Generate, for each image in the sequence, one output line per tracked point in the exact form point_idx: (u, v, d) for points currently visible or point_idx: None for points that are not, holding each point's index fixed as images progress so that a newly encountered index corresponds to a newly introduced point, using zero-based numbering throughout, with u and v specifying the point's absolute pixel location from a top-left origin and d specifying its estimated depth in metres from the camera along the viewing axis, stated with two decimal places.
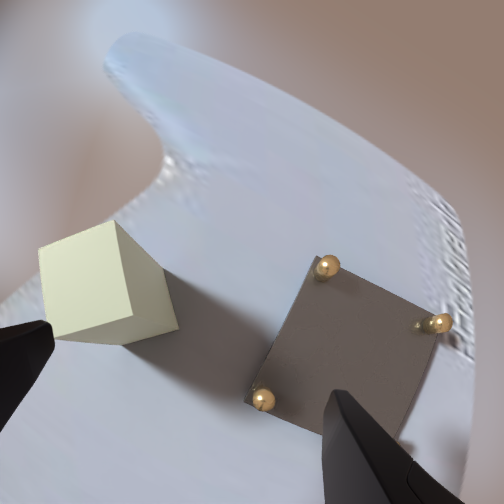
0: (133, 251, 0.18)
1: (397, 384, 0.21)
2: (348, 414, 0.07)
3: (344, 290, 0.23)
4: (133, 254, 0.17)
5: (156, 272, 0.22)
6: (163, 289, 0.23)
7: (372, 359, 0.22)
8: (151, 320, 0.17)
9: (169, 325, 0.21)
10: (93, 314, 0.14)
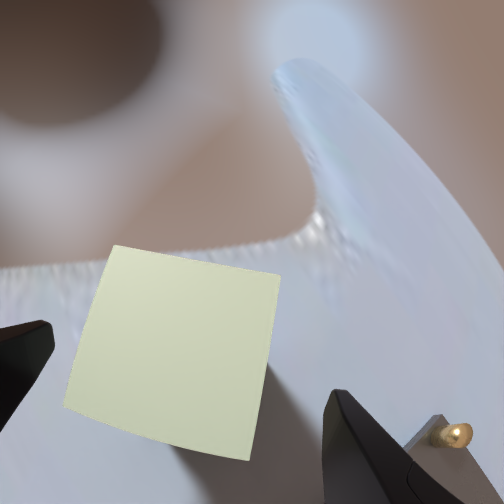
0: None
1: None
2: (348, 414, 0.07)
3: (450, 462, 0.13)
4: None
5: None
6: None
7: None
8: None
9: None
10: (169, 421, 0.07)
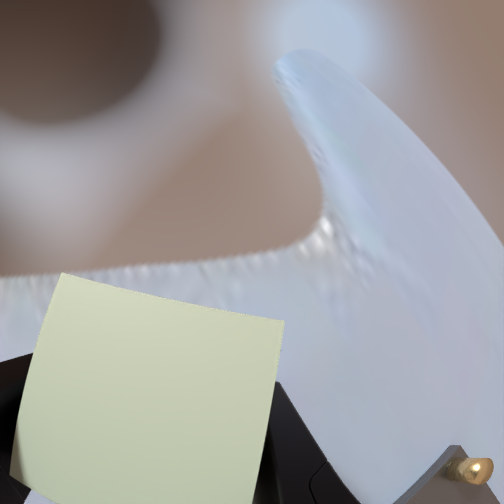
0: None
1: None
2: None
3: (465, 495, 0.10)
4: None
5: None
6: None
7: None
8: None
9: None
10: None
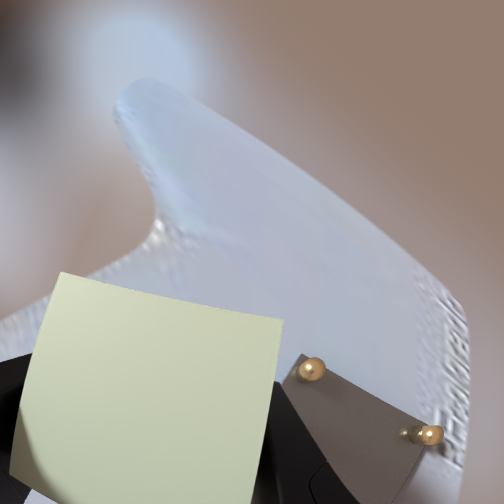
0: None
1: (372, 493, 0.16)
2: None
3: (328, 393, 0.20)
4: None
5: None
6: None
7: (349, 468, 0.17)
8: None
9: None
10: None
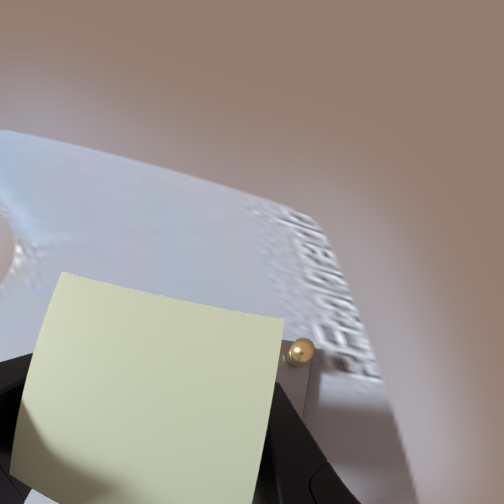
0: None
1: None
2: None
3: None
4: None
5: None
6: None
7: None
8: None
9: None
10: None
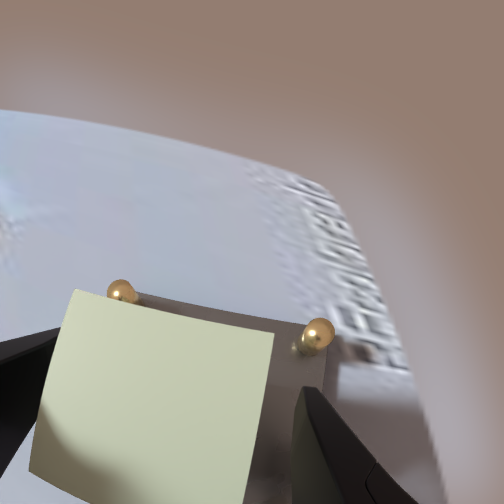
0: None
1: (277, 437, 0.14)
2: (313, 411, 0.07)
3: None
4: None
5: None
6: None
7: None
8: None
9: None
10: (141, 501, 0.05)
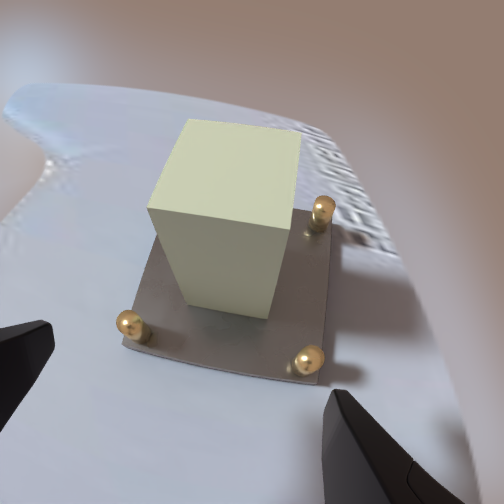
0: None
1: (298, 290, 0.20)
2: (348, 414, 0.07)
3: None
4: None
5: None
6: None
7: None
8: (279, 268, 0.13)
9: (271, 301, 0.17)
10: (231, 205, 0.11)
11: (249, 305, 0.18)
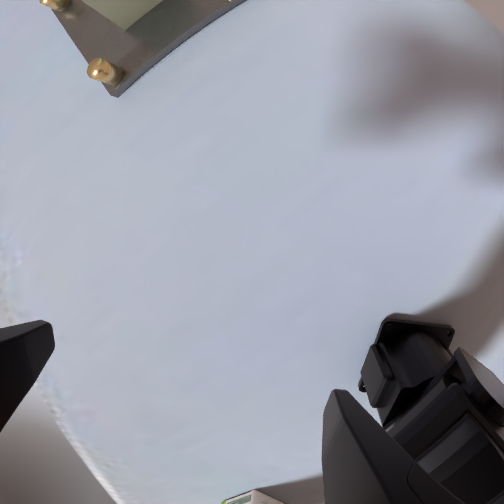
0: None
1: None
2: (348, 414, 0.07)
3: None
4: None
5: None
6: None
7: None
8: None
9: None
10: None
11: None
